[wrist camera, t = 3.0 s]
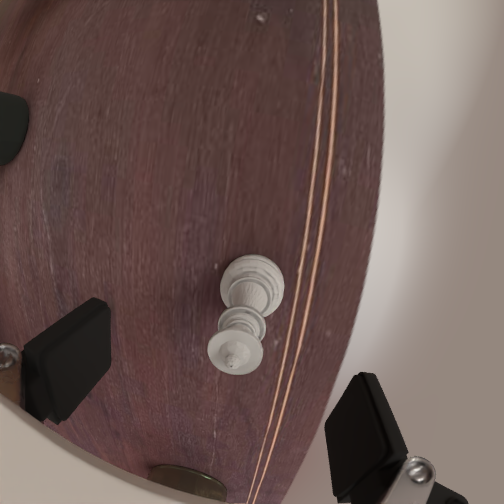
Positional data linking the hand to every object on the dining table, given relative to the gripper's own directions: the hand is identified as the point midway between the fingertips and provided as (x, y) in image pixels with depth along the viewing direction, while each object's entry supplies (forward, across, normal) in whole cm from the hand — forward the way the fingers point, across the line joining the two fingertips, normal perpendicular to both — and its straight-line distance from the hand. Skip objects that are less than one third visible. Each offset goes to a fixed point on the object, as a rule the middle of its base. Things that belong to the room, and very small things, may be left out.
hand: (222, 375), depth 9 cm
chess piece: (+11, 0, 0) cm, 11 cm away
